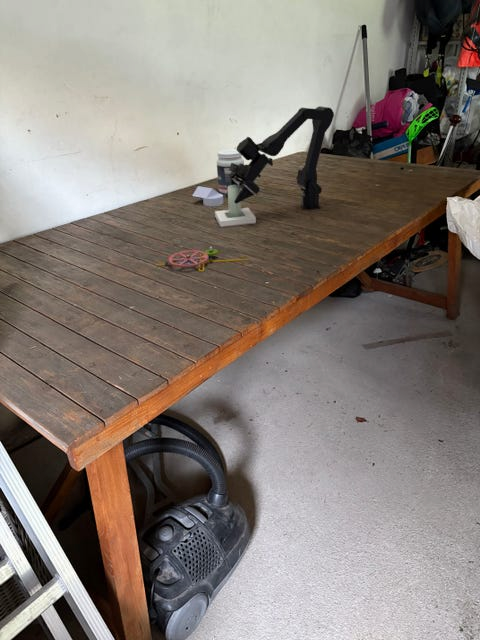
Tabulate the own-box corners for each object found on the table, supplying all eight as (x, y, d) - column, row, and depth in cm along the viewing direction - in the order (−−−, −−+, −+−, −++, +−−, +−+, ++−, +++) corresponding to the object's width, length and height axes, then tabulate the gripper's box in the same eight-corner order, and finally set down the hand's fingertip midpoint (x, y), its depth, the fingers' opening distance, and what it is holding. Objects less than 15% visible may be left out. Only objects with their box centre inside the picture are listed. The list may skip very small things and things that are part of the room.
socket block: (248, 213, 210) (248, 207, 208) (255, 223, 197) (255, 217, 196) (215, 216, 207) (214, 211, 206) (220, 227, 195) (220, 221, 194)
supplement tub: (217, 188, 248) (214, 150, 239) (243, 186, 248) (241, 148, 240) (219, 195, 236) (216, 155, 227) (246, 193, 237) (245, 153, 228)
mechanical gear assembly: (158, 258, 171) (154, 277, 158) (156, 246, 169) (152, 265, 156) (246, 252, 172) (249, 271, 159) (245, 241, 170) (248, 259, 157)
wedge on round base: (192, 203, 227) (214, 207, 220) (191, 188, 224) (213, 192, 217) (205, 198, 233) (227, 202, 226) (204, 183, 230) (226, 187, 223)
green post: (242, 217, 204) (241, 185, 198) (239, 221, 200) (238, 188, 193) (230, 217, 205) (229, 184, 199) (227, 220, 201) (226, 187, 194)
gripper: (231, 150, 199) (207, 182, 201) (250, 158, 184) (224, 193, 186) (250, 168, 206) (227, 199, 207) (270, 177, 190) (245, 210, 192)
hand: (230, 200), depth 198 cm, fingers open, 9 cm apart
